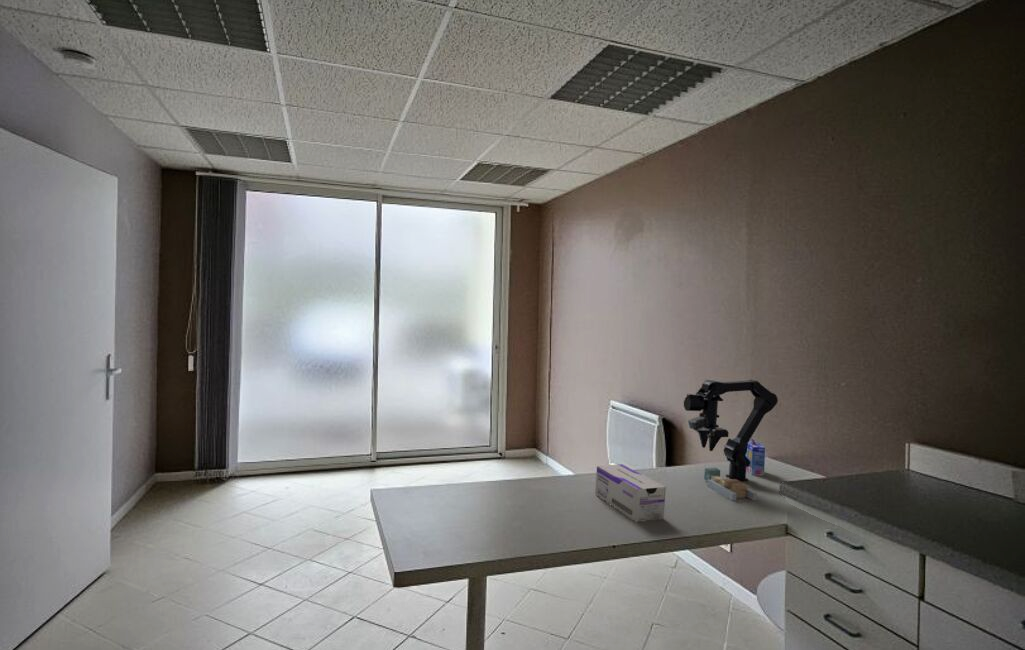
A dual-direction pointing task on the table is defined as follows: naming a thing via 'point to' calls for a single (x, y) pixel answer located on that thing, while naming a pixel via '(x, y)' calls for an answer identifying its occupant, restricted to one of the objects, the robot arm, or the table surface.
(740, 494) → the block
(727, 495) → the channel
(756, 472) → the ink cartridge box
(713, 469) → the push rod
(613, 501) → the surgical sutures box
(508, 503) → the table surface
